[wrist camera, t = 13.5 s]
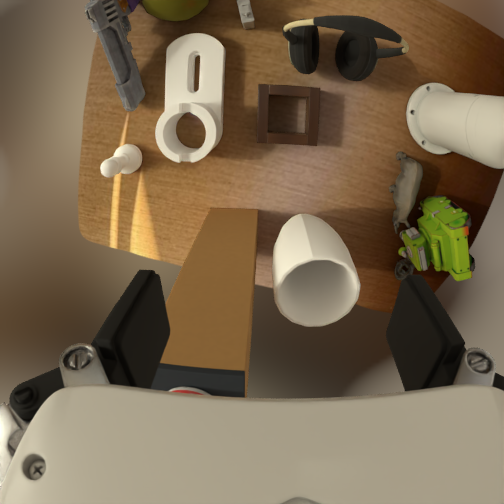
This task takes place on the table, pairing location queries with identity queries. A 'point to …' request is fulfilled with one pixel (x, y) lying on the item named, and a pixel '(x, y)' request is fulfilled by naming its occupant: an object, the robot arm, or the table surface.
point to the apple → (174, 8)
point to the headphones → (341, 44)
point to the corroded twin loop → (400, 273)
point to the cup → (313, 272)
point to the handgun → (118, 46)
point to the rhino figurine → (405, 189)
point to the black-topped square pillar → (213, 308)
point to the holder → (288, 137)
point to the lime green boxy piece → (440, 238)
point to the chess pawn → (122, 161)
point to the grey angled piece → (246, 14)
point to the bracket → (192, 94)
